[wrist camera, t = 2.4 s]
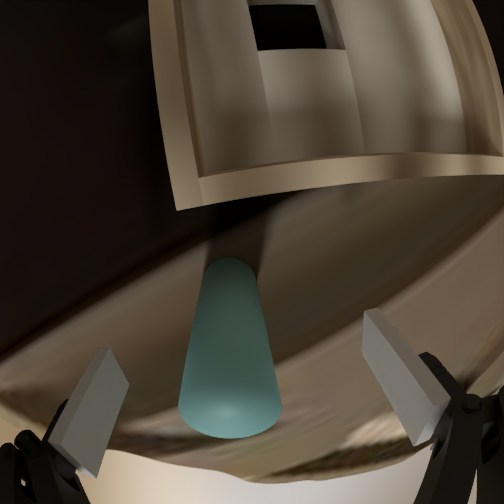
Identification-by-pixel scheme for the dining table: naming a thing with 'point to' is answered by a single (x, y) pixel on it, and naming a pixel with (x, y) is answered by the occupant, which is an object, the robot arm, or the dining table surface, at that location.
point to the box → (323, 97)
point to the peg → (229, 357)
